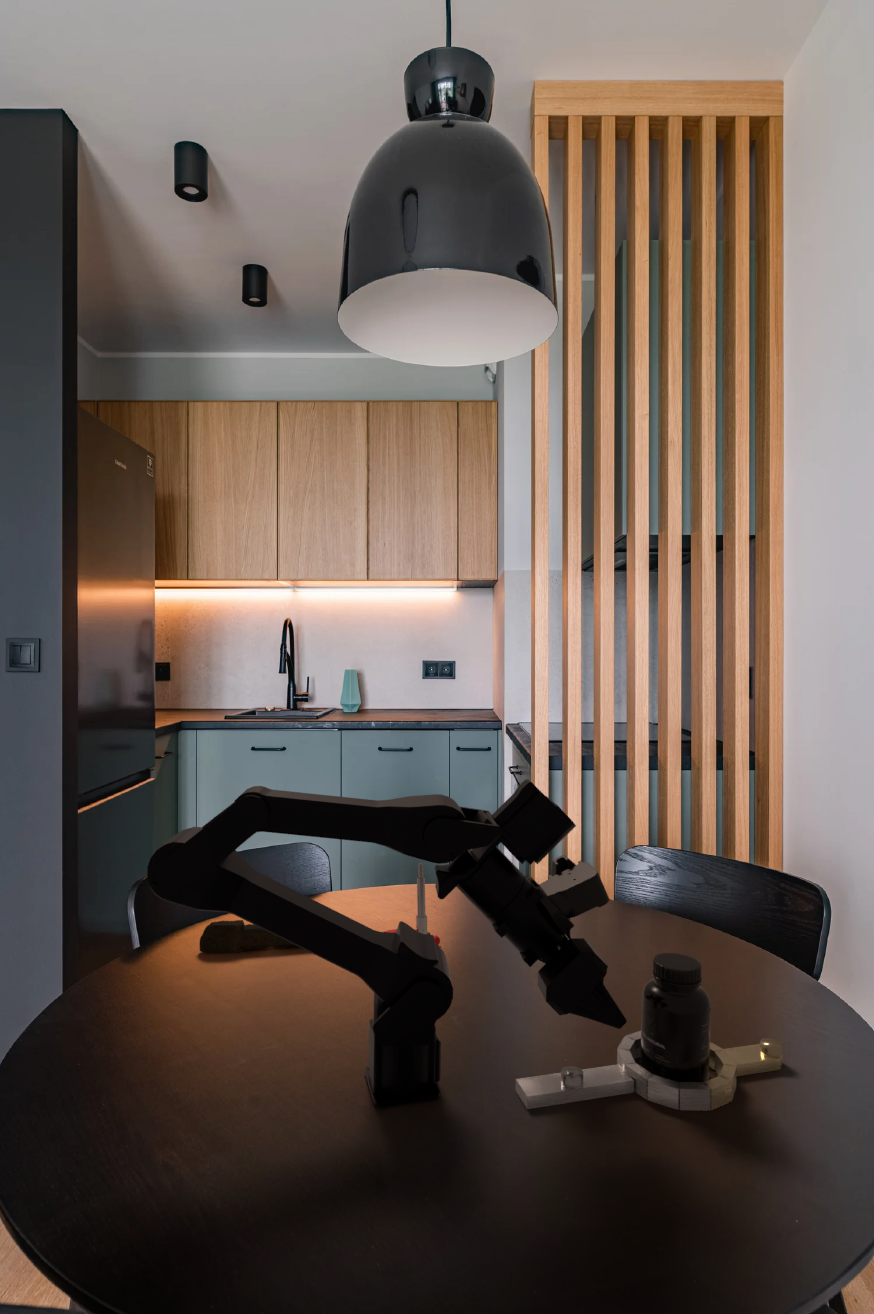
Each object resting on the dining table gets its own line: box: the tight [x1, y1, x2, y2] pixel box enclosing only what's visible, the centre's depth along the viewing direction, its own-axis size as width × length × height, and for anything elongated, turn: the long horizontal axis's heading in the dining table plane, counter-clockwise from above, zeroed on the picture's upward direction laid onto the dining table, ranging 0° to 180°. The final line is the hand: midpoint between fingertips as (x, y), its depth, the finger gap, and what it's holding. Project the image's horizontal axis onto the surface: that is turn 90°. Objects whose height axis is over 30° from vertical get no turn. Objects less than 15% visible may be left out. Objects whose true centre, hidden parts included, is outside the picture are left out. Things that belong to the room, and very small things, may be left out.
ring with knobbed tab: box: [703, 1037, 783, 1111], centre depth 76 cm, size 13×12×2 cm
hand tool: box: [199, 919, 297, 955], centre depth 107 cm, size 19×4×5 cm, turn 100°
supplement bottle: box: [640, 952, 712, 1082], centre depth 75 cm, size 7×7×12 cm
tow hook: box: [383, 862, 441, 946], centre depth 109 cm, size 8×13×9 cm
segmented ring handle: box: [515, 1030, 711, 1112], centre depth 73 cm, size 17×12×2 cm
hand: (607, 1002), depth 74 cm, fingers open, 9 cm apart
